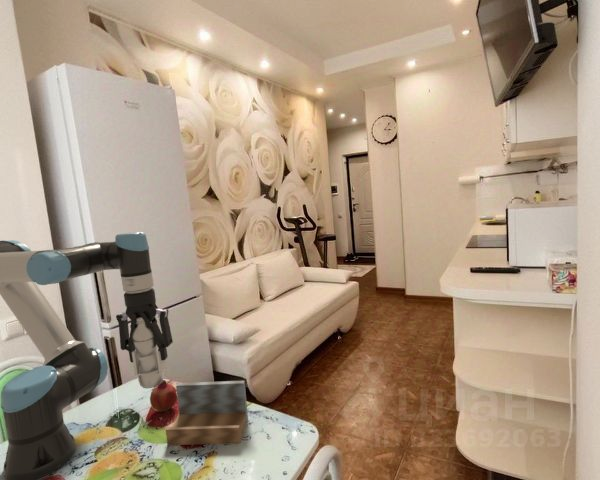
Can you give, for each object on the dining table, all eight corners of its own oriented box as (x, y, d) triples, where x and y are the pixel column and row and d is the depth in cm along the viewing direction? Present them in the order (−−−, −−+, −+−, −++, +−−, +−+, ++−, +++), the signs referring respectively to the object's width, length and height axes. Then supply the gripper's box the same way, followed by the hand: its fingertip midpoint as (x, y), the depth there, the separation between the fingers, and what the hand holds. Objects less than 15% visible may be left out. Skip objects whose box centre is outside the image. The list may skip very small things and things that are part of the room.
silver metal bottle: (169, 378, 99) (160, 310, 97) (157, 391, 92) (146, 318, 90) (148, 379, 100) (138, 311, 98) (134, 392, 93) (123, 320, 91)
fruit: (165, 400, 117) (162, 372, 116) (183, 405, 113) (180, 376, 112) (145, 414, 110) (142, 384, 108) (164, 420, 106) (160, 389, 105)
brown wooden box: (167, 445, 94) (162, 403, 93) (182, 420, 105) (178, 383, 104) (240, 443, 93) (236, 401, 92) (248, 418, 104) (244, 380, 102)
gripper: (95, 296, 90) (109, 380, 93) (167, 290, 89) (179, 376, 91) (113, 289, 98) (125, 367, 100) (179, 283, 96) (189, 363, 99)
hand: (150, 371), depth 96 cm, fingers closed on silver metal bottle, 6 cm apart
